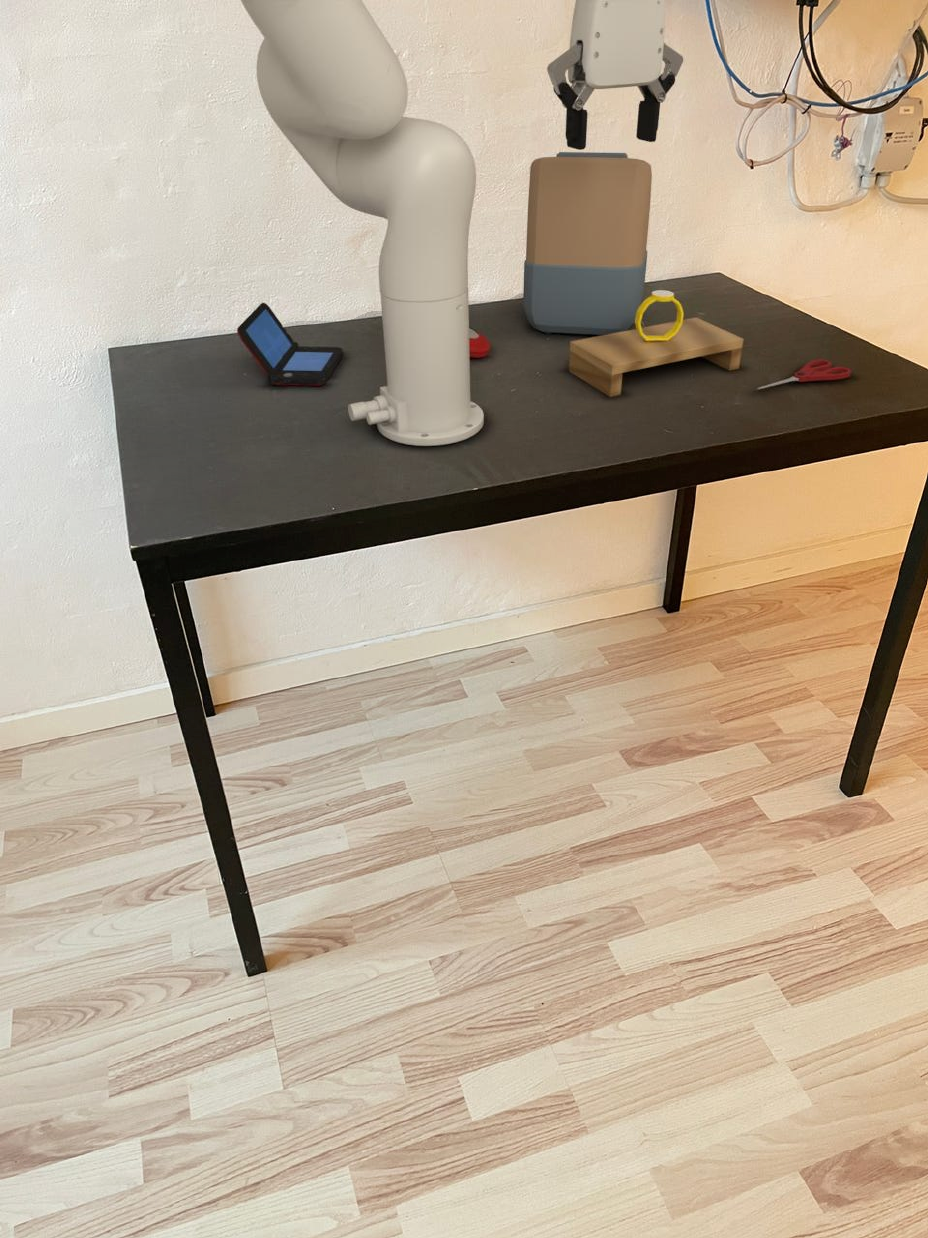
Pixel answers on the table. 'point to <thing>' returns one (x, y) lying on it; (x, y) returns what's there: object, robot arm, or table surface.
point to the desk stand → (650, 352)
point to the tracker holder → (477, 344)
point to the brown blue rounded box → (586, 242)
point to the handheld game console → (285, 351)
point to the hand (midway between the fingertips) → (611, 143)
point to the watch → (662, 297)
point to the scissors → (816, 373)
